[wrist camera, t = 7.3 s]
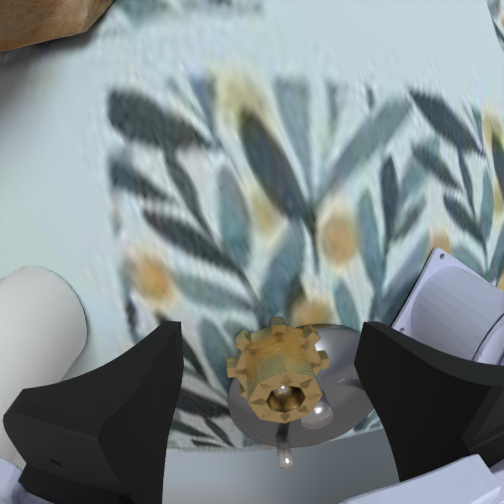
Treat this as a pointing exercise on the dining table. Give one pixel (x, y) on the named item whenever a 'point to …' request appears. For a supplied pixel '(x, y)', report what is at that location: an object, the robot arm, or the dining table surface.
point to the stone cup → (45, 20)
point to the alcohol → (35, 335)
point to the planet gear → (279, 370)
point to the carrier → (326, 410)
